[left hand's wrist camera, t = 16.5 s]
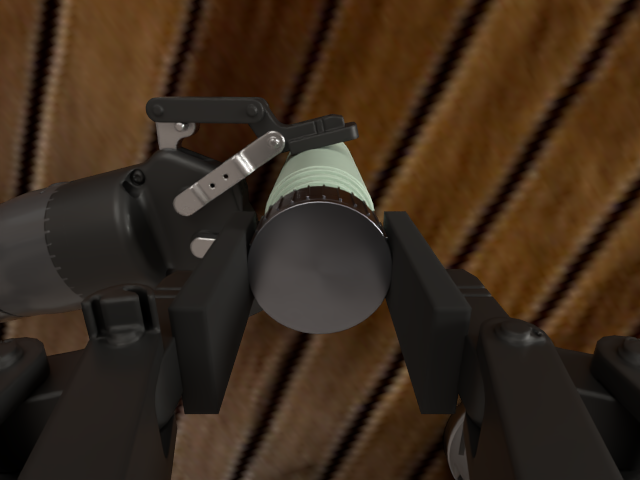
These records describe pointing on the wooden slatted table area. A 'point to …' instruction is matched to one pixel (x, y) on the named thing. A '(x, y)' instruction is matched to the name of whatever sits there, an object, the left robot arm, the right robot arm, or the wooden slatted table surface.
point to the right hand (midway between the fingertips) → (364, 177)
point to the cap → (319, 260)
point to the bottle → (320, 173)
